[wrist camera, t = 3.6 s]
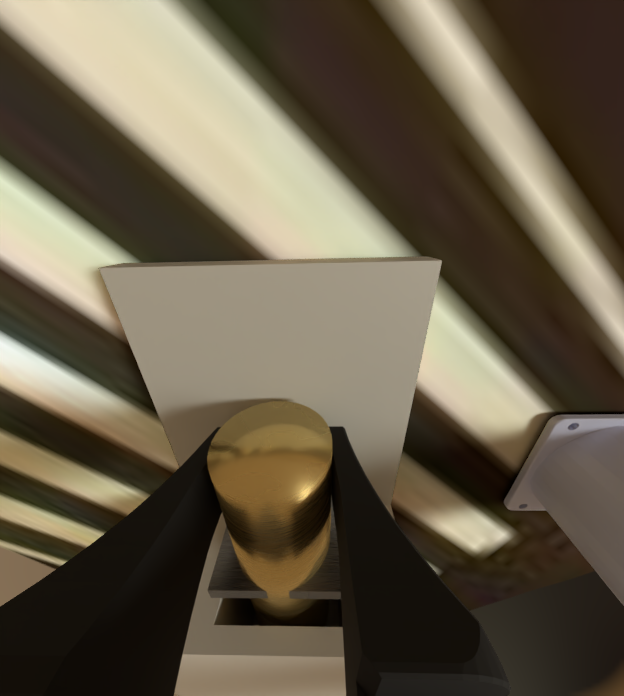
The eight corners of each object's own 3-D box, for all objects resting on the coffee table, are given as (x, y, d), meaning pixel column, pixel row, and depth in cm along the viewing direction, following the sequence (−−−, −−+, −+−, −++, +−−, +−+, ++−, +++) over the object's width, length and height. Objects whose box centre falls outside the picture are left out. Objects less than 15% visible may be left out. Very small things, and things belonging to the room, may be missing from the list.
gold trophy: (342, 400, 11) (358, 503, 7) (335, 558, 17) (341, 658, 13) (217, 401, 11) (160, 502, 7) (257, 557, 17) (239, 655, 13)
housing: (427, 256, 9) (654, 318, 3) (371, 561, 20) (396, 711, 14) (123, 263, 10) (-239, 332, 3) (229, 560, 20) (191, 707, 14)
